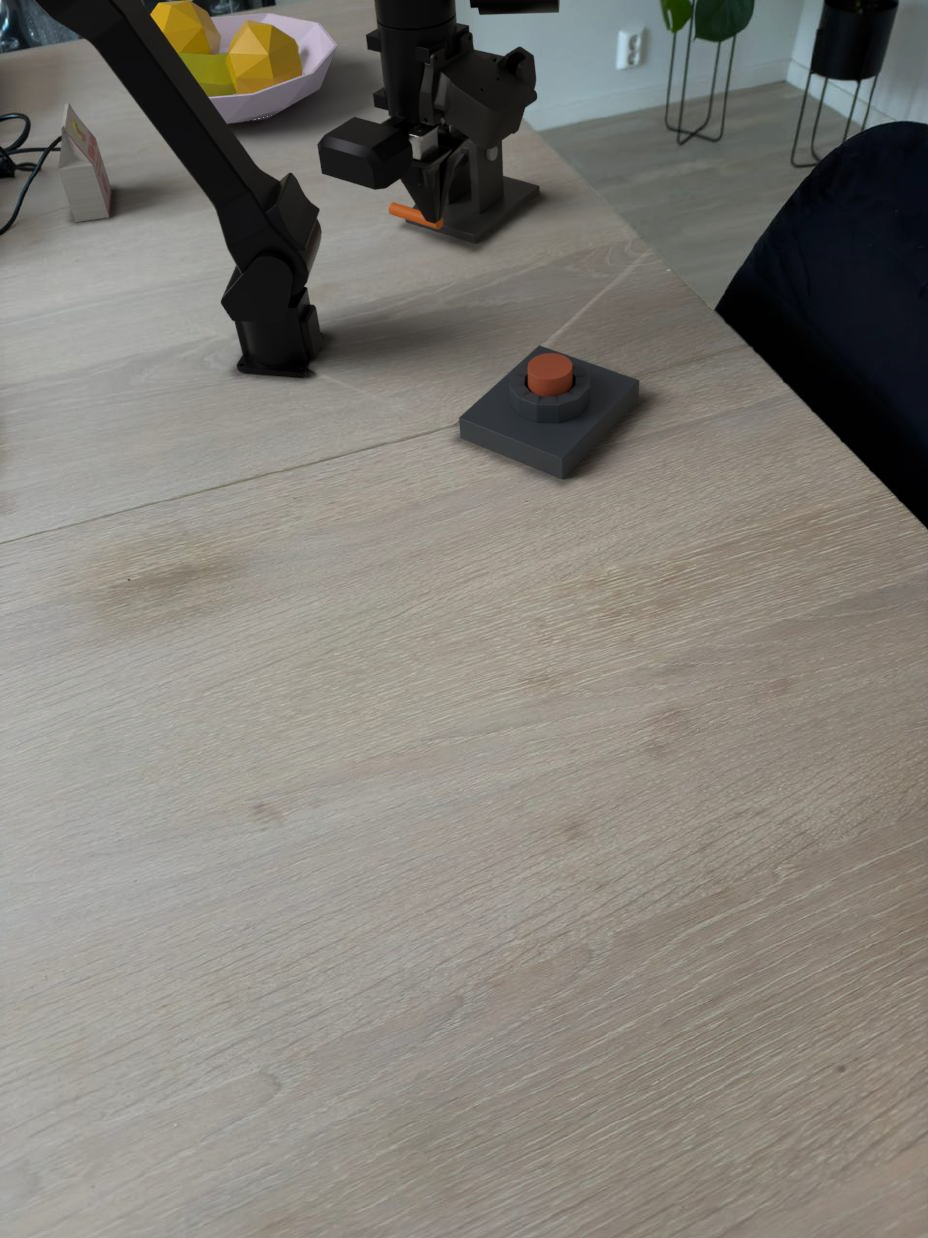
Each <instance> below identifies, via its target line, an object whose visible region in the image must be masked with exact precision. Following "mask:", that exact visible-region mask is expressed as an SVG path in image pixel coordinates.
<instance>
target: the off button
mask: <svg viewBox="0 0 928 1238" xmlns="http://www.w3.org/2000/svg"><path fill="white" fill-rule="evenodd" d="M572 371H573V365H572V362H571V361H570V359H568V358H567V357H565V356H563V355H560V354H555V353H546V354H541V355H538V356H536V357H534V358H533V359H531V360H530V362H529V364H528V387H529V389H530V390H531V391H532V392H533V393H535V394H537V395H540V396H558V395H561V394H564V393H566V392H568V391H569V390H570V388H571V387H572Z"/></svg>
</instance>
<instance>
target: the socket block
mask: <svg viewBox="0 0 928 1238" xmlns="http://www.w3.org/2000/svg"><path fill="white" fill-rule="evenodd" d="M546 353H555V354H560V355H563V356H565V357H567V358H568V359H570V361H571V362H572V365H573V371H572V387H571V388H570V390H569V391H568V392H566V393H564V394H561V395H558V396H540V395H537V394H535V393H533V392H532V391H531V390H530V389H529V387H528V364H529V362H530V360H531V359H533V358H534V357H536V356H538V355H541V354H546ZM639 393H640V380H639V379H637V378H634V377H631V376H628V375H626V374H623V373H620V372H617V371H614V370H611V369H609V368H606V367H603V366H600V365H597V364H594V363H591V362H588V361H585V360H583V359H580V358H577V357H575V356H572V355H570V354H569V355H568V354H565V353H562V352H560V351H557V350H554V349H552V348H549V347H546V346H543V345H540V344H539V345H538V346H536V348H534V349H533V350H532V351H531V352H530V353H529V354H528V355H527V356H526V357H524V359H522V360H521V361H520V362H519V363H518V364H517V365H516V366H514V367H513V368H512V369H511V370H510V371H509V372H508V373H506V375H504V376H503V377H502V378H501V379H499V381H498V382H497V383H496V384H495V385H493V386H492V387H491V388H490V389H489V390H488V391H487V392H486V393H484V394H483V396H481V397H480V398H479V399H478V400H477V401H475V403H474V404H473V405H471V406H470V407H469V408H468V409H467V410H466V411H465V412H464V413H462V415H460V416H459V417H458V424H459V437H460V439H462V440H464V441H467V442H469V443H471V444H474V445H476V446H479V447H481V448H484V449H486V450H489V451H491V452H492V453H493V452H494V453H496V454H498V455H501V456H504V457H505V458H507V459H511V460H513V461H515V462H518V463H520V464H522V465H525V466H527V467H530V468H532V469H534V470H537V471H540V472H542V473H545V474H547V475H550V476H552V477H554V478H557V479H559V480H564V479H565V478H566V477H567V475H569V473H571V472H572V471H573V469H574V468H575V467H577V465H578V464H579V463H580V462H581V461H582V460H583V459H584V458H585V457H586V456H587V455H588V454H589V453H590V452H591V450H593V448H595V447H596V445H598V443H599V442H600V441H602V439H603V438H604V437H605V436H606V435H607V434H608V433H609V431H611V430H612V429H613V428H614V427H615V426H616V425H617V423H619V421H621V419H623V417H625V415H626V414H627V413H628V412H629V411H630V410H631V409H632V408H633V407H634V406H635V405H636V404H637V403H638V402H639V395H640V394H639Z"/></svg>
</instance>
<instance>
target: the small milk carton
mask: <svg viewBox="0 0 928 1238" xmlns="http://www.w3.org/2000/svg"><path fill="white" fill-rule="evenodd" d="M64 103H65V104H64V109H63V114H62V115H63V116H62V122H61V127H60V128H61V129H60V131H61V142H60V152H59V157H58V165H57V172H58V175H59V179H60V182H61V184H62V187H63V189H64V190H63V191H64V193H65V196H66V199H67V202H68V204H69V208H70V210H71V213H72V216H73V219H74V222H75V223H81V222H86V221H94V220H100V219H101V220H102V219H106V218H110V214H111V203H112V202H111V201H112V190H113V189H112V186H111V183H110V180H109V177H108V174H107V169H106V167H105V164H104V160H103V157H102V155H101V151H100V148H99V144H98V141H97V137H96V136H95V135H94V134H93V132H92V131H91V130H90V129H89V128H88V127H87V125H86V124H85V123H84V122H83V121H82V119H81V118H80V117H79V115H78V114H77V113H76V111H75V110H74V109H73V107H72V105H71V103H70V102H69V101H68V103H66V102H64Z"/></svg>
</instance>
